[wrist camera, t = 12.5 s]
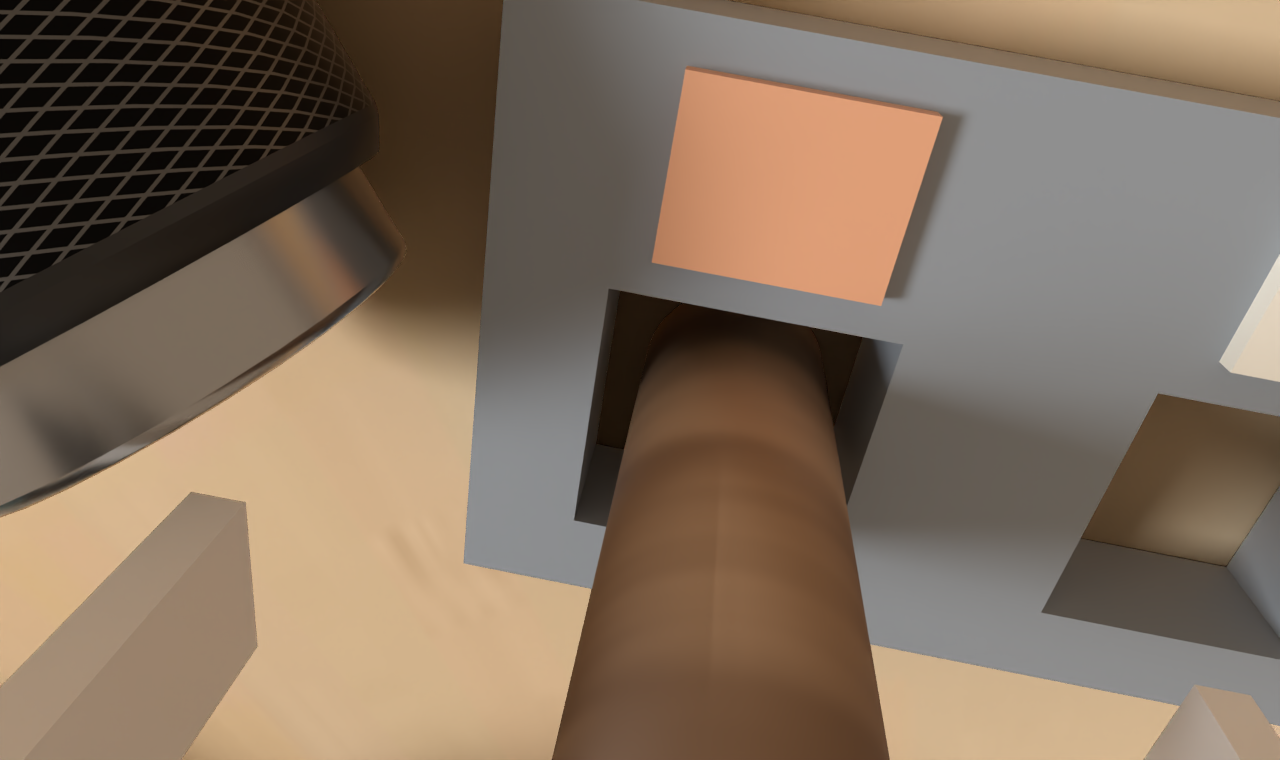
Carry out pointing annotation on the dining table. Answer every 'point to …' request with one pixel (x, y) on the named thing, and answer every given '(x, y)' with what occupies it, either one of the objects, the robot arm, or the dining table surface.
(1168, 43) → the dining table surface
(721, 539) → the walnut peg
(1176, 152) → the socket block
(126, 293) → the muzzle brake
